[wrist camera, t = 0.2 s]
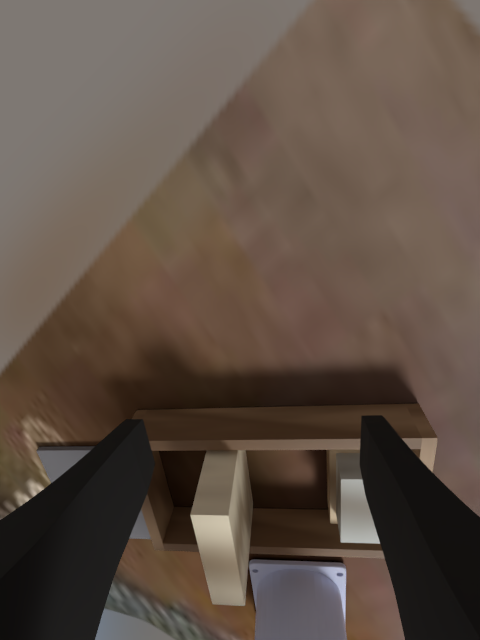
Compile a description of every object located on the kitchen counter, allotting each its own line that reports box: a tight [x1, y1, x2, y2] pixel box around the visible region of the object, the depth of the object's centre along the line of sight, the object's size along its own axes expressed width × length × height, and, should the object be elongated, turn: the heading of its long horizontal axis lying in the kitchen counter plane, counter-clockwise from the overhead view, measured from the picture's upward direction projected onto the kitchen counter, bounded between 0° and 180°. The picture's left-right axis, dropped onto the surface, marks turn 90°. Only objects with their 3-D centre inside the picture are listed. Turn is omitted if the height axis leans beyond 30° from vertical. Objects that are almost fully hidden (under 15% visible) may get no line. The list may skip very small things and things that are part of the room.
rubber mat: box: [37, 446, 151, 539], centre depth 29 cm, size 10×7×1 cm
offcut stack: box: [327, 450, 380, 544], centre depth 23 cm, size 7×4×4 cm, turn 7°
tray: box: [132, 403, 438, 558], centre depth 24 cm, size 11×19×3 cm, turn 97°
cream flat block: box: [190, 450, 253, 606], centre depth 23 cm, size 8×2×7 cm, turn 7°
